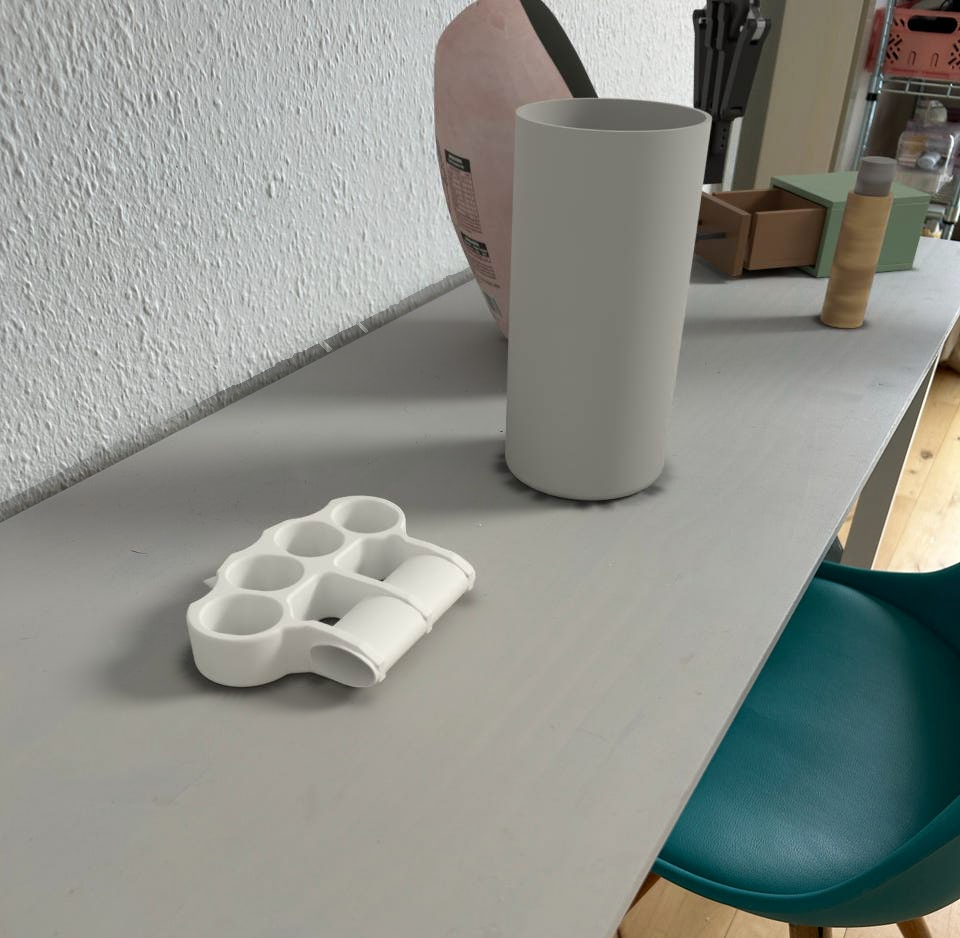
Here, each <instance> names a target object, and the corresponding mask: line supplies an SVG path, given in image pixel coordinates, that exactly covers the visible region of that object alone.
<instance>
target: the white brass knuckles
mask: <svg viewBox="0 0 960 938" xmlns="http://www.w3.org/2000/svg"><path fill="white" fill-rule="evenodd" d="M476 575H477V574H476V570H475V569H474V567H473V566H472V565H471V563H469V562H468V561H467V560H466V559H465V558H464V557H462V556H461V555H459V554H457V553H456V552H454V551H451V550H450V549H447V548H443V547H441V546H438V545H437V544H434V543H431V542H428V541H424V540H421V539H418V538H414V537H411V536H409V535H408V534H407V522H406V515H405V513H404V511H403V510H402V509H401V508H400V506H398V505H397V504H396V503H394V502H392V501H390V500H388V499H385V498H381V497H377V496H370V495H348V496H342V497H337V498H334V499H331V500H330V501H329V502H328V503H327V504H326V505H325V506H324V507H323V508H322V509H319V510H318V511H316V512H314V513H312V514H309V515H305V516H302V517H297V518H289V519H286V520H284V521H282V522H279V523H277V524H275V525H273V526H270V527H268V528H265V529H264V530H263V531H262V534H261V536H260V537H259V539H257V540H256V541H255V542H254V543H252V545H250V546H248V547H246V548H244V549H242V550H239V551H236V552H233V553H230V554H229V555H228V556H227V558H226V559H225V560H224V562H223V563H222V564H221V565H220V566H219V567H218V569H216V571H215V575H213V576H211V577H209V578H206V579H203V580H202V582H203V583H204V584H205V585H207V587H209V588H210V589H211V590H210V591H209V592H208V593H206V595H204V596H202V597H201V598H199V599H198V600H196V601H193V602H191V603H190V604H189V605H188V608H187V610H186V615H185V616H186V617H185V618H186V625H187V630H188V634H189V635H188V636H189V640H190V645H191V649H192V650H191V651H192V655H193V659H194V663H195V666H196V668H197V669H198V671H199V672H200V673H201V674H202V675H203V676H204V677H205V678H206V679H208V680H210V681H211V682H213V683H217V684H220V685H223V686H227V687H236V688H247V687H249V688H250V687H257V686H261V685H265V684H269V683H272V682H275V681H277V680H279V679H281V678H283V677H285V676H287V675H290V674H302V673H304V674H305V673H314V674H316V675H319V676H322V677H323V678H324V677H325V678H327V679H330V680H333V681H335V682H338V683H340V684H342V685H346V686H349V687H353V688H370V687H373V686H374V685H375V684H379V683H381V682H383V680H384V679H385V678H387V677H386V676H387V675H386V674H387V673H388V671H389V670H390V669H391V668H392V667H393V666H394V665H395V664H396V663H397V662H398V661H399V660H400V659H401V658H402V657H403V655H405V654H406V653H407V651H409V650H410V648H412V646H414V644H415V643H417V642H418V640H419V639H421V637H422V636H425V635H427V634H429V633H430V632H431V631H432V630H433V625H434V624H435V623H436V622H437V621H438V620H439V619H440V618H441V617H442V616H443V615H444V614H445V613H446V612H447V611H448V610H449V609H450V608H451V607H452V606H453V605H454V604H455V603H456V601H457V600H459V599H460V597H462V596H463V594H464V593H467V592H470V591H471V590H472V589H473V588H474V584H475V582H476ZM382 580H383V581H382ZM326 618H337V619H339V620H338V621H337V622H336V623H335V624H334V625H330V624H327V623H324V622H321V620H323V619H326Z"/></svg>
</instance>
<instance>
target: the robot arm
mask: <svg viewBox="0 0 960 938" xmlns="http://www.w3.org/2000/svg"><path fill="white" fill-rule="evenodd" d="M705 1H706V4H705V5H704V6H703V7H702V8H698V9H697V8H695V9H694V10H693V11H692V17H691V19H692V25H693V33H694V37H693V38H694V41H693V42H694V45H693V55H694V56H693V90H692V91H693V95H692V108H696V109H699V110H702V111H704V112H706V113H708V114H710V115H711V117H712V122H711V130H710V137H709V144H708V151H707V158H706V166H705V173H704V180H703V186H705V185H718V184H719V185H720V184H723V180H724V179H723V178H724V172H725V171H724V170H725V163H726V158H727V151H728V147H729V138H730V132H731V125H732V123H733V122H734V121H735V119H739V118H743V117H744V116H745V114H746V110H747V106H748V103H749V99H750V96H751V91H752V88H753V85H754V81H755V77H756V73H757V69H758V67H759V66H758V65H759V63H760V62H759V61H760V58H761V54H762V51H763V48H764V44H765V42H766V40H767V38H768V36H769V34H770V31H771V30H772V25H773V20H772V18H771V17H765V18H764V17H763V16H762V14H761V12H760V11H761V10H760V8H761V6H762V5H761V4H762V0H705Z"/></svg>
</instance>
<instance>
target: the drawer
mask: <svg viewBox="0 0 960 938" xmlns="http://www.w3.org/2000/svg"><path fill="white" fill-rule="evenodd" d="M827 210H828V207H826V206H823V205H821V204H819V203H816V202H814V201H812V200H809V199H807V198H804V197H802V196H800V195H797V194H795V193H793V192H790V191H788V190H786V189H783V188H769V187H768V188H756V189H741V190H738V189H737V190H725V191H713V192H711V194H710V193H708V192H706V191H703V190H702V195H701V202H700V209H699V216H698V223H697V231H696V238H695V245H694V252H693V254H694V255H696V256H698V257H700V258H701V259H703V260H705V261H707V262H708V263H710V264H712V265H713V266H715V267H717V268H719V269H720V270H721V271H723V272H725V273H727V274H728V275H730V276H732V277H735V276H741V275H742V273H743V268H744V269H745V270H748V271H753V270H755V271H756V270H764V269H765V270H766V269H767V270H768V269H776V268H777V269H778V268H788V267H796V266H801V265H813V264H816V262H817V257H818V252H819V248H820V243H821V238H822V234H823V229H824V224H825V219H826V215H827Z"/></svg>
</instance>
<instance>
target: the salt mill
mask: <svg viewBox="0 0 960 938" xmlns="http://www.w3.org/2000/svg"><path fill="white" fill-rule="evenodd" d="M897 165H898V160H897V159H894V158H891V157H887V156H877V155H875V156H873V155H871V156H869V155H867V156H862V157H861V159H860V161H859V166H858V170H857V171H858V175H857V179H856V183H855V188H853V189H850V190H849V191H848V196H847V200H846V205H845V209H844V214H843V218H842V223H841V227H840V232H839V236H838V241H837V245H836V250H835V254H834V259H833V263H832V268H831V272H830V277H829V278H828V282H827V286H826V291H825V295H824V299H823V304H822V309H821V313H820V317H819V320H820V322H821V323H823V324H824V325H827V326H830V327H833V328H839V329H855V328H859V327H861V326H862V325H863V322H864V318H865V315H866V312H867V307H868V304H869V299H870V295H871V291H872V288H873V287H872V286H873V283H874V278H875V275H876V272H875V271H876V267H877V263H878V259H879V255H880V251H881V247H882V243H883V239H884V235H885V231H886V227H887V223H888V219H889V215H890V211H891V207H892V203H893V199H894V193H892V192H890V189H891V185H892V181H893V182H894V177H895V173H896V168H897Z"/></svg>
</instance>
